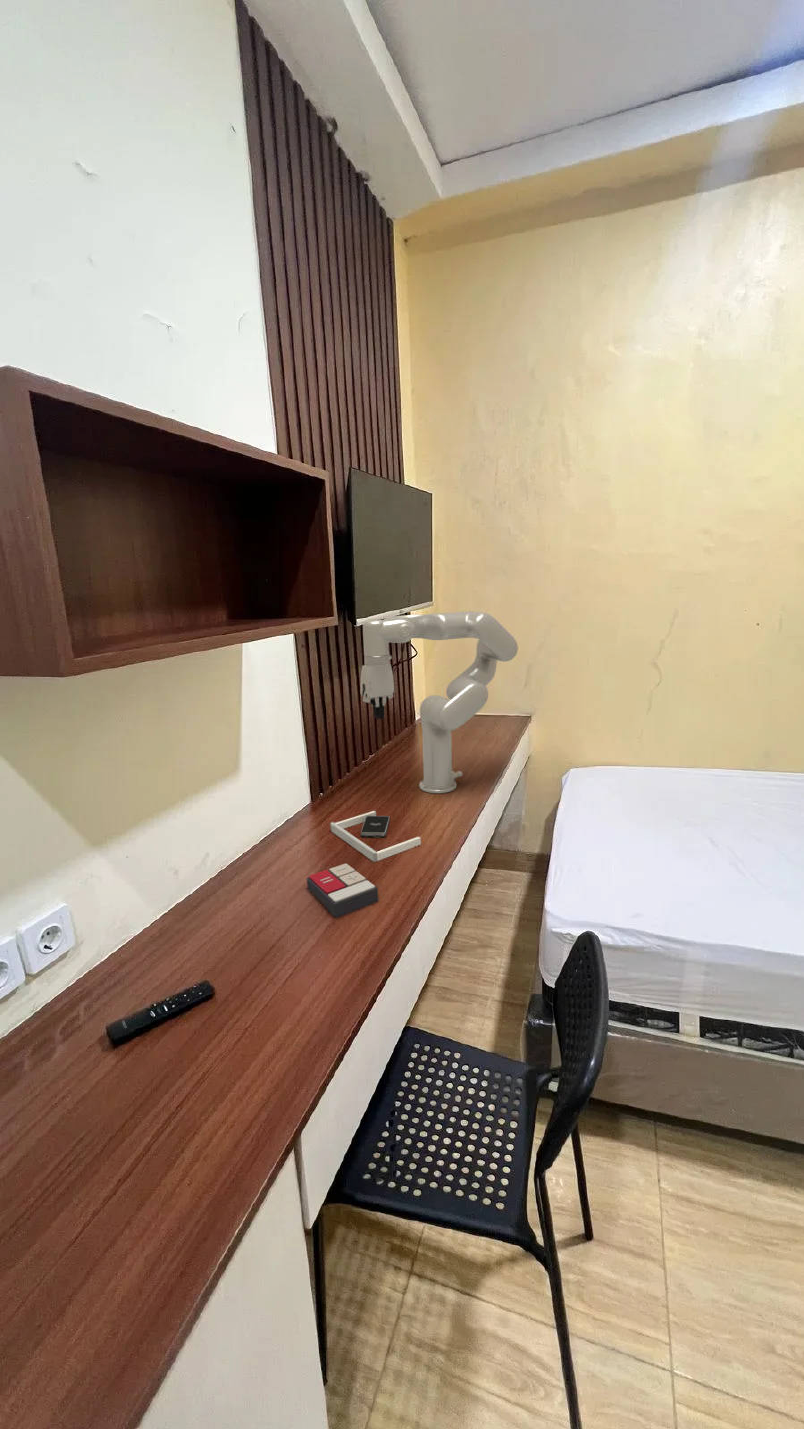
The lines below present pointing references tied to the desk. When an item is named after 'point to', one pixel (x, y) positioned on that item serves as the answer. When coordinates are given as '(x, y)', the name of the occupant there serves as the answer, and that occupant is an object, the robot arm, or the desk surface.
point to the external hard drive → (375, 827)
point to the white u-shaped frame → (363, 848)
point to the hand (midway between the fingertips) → (379, 718)
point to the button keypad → (342, 890)
